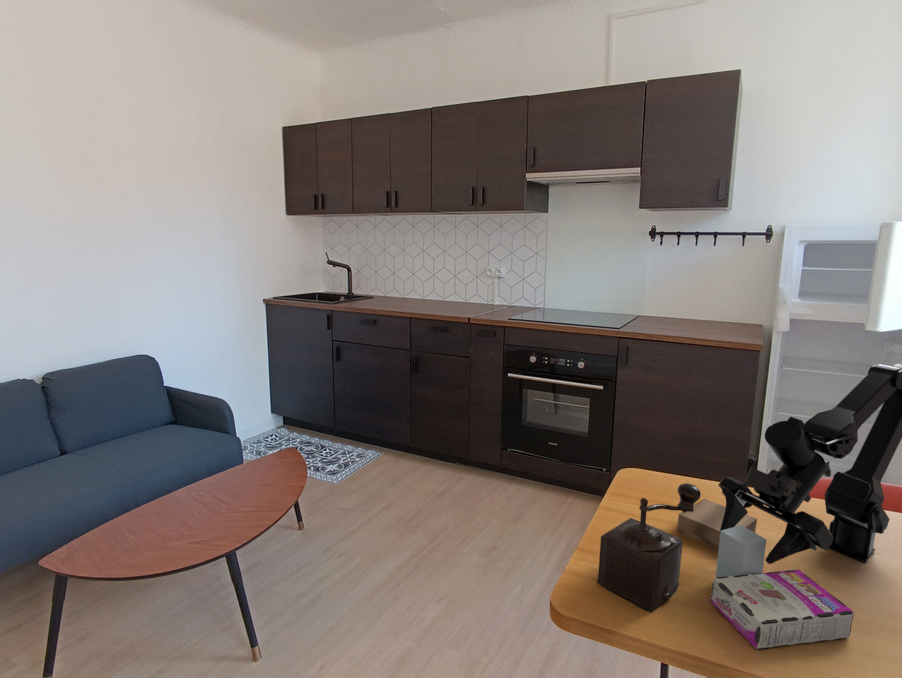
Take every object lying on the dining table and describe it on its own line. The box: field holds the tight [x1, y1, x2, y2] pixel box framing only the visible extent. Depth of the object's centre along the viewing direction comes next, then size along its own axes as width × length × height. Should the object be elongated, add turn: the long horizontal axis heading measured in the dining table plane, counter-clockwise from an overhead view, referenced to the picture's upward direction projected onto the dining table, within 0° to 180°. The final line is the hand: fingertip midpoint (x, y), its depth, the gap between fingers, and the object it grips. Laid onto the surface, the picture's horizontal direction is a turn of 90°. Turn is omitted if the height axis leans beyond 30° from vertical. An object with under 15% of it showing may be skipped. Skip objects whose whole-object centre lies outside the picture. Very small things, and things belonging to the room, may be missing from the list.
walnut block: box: [676, 498, 758, 551], centre depth 112 cm, size 11×11×4 cm
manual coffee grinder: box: [597, 482, 701, 613], centre depth 95 cm, size 16×11×18 cm
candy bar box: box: [710, 568, 855, 650], centre depth 87 cm, size 11×5×16 cm
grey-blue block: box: [715, 525, 767, 578], centre depth 95 cm, size 5×5×10 cm
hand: (743, 547), depth 94 cm, fingers open, 9 cm apart
